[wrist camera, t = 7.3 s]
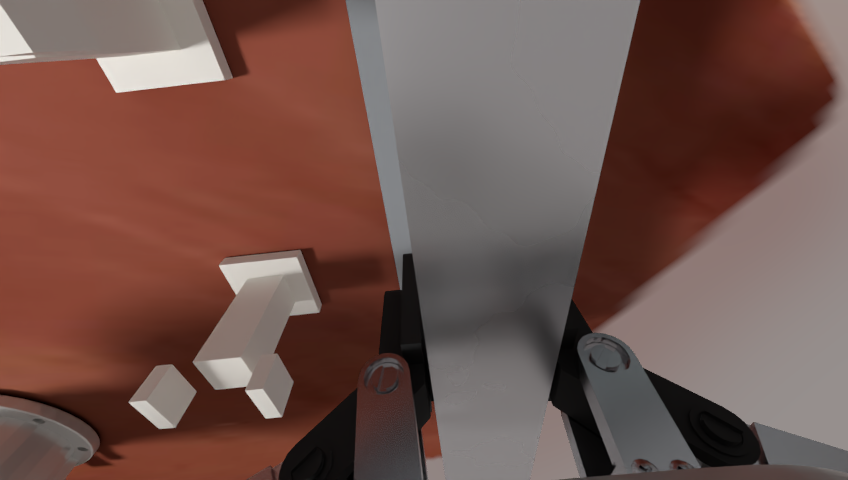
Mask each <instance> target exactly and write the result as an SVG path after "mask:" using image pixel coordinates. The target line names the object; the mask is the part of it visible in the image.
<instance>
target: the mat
mask: <svg viewBox="0 0 848 480" xmlns="http://www.w3.org/2000/svg"><path fill="white" fill-rule="evenodd" d="M346 5H347V10H348V15H349V21H350V26H351V31H352V36H353V42H354V47H355V52H356V58H357V63H358V68H359V74H360V79H361V84H362V89H363V95H364V100H365V105H366V111H367V116H368V121H369V126H370V132H371V137H372V142H373V148H374V153H375V158H376V164H377V169H378V174H379V179H380V185H381V190H382V195H383V201H384V206H385V211H386V216H387V222H388V227H389V232H390V238H391V243H392V248H393V254H394V259H395V264H396V269H397V275H398V280H399V285H400V290H402V267H403V254H409V253H412V248H411V242H410V235H409V228H408V221H407V215H406V208H405V201H404V194H403V187H402V181H401V174H400V167H399V160H398V154H397V147H396V140H395V133H394V126H393V120H392V113H391V106H390V99H389V93H388V86H387V79H386V72H385V65H384V59H383V52H382V45H381V38H380V32H379V25H378V18H377V11H376V4H375V0H346Z"/></svg>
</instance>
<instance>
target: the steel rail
mask: <svg viewBox="0 0 848 480" xmlns="http://www.w3.org/2000/svg"><path fill="white" fill-rule="evenodd" d="M375 4H376V11H377V18H378V25H379V32H380V38H381V45H382V52H383V59H384V65H385V72H386V79H387V86H388V93H389V99H390V106H391V113H392V120H393V126H394V133H395V140H396V147H397V154H398V160H399V167H400V174H401V181H402V187H403V194H404V201H405V208H406V215H407V221H408V228H409V235H410V242H411V248H412V255H413V262H414V269H415V275H416V282H417V289H418V296H419V303H420V309H421V316H422V323H423V330H424V336H425V343H426V350H427V357H428V364H429V370H430V377H431V384H432V391H433V397H434V404H435V411H436V418H437V425H438V431H439V438H440V445H441V452H442V458H443V465H444V472H445V479H446V480H530V476H531V472H532V468H533V463H534V459H535V454H536V450H537V446H538V442H539V437H540V433H541V428H542V424H543V420H544V415H545V411H546V407H547V403H548V398H549V394H550V390H551V385H552V381H553V376H554V372H555V368H556V363H557V359H558V355H559V350H560V346H561V342H562V337H563V333H564V329H565V324H566V320H567V316H568V311H569V307H570V303H571V298H572V294H573V290H574V285H575V281H576V277H577V272H578V268H579V264H580V259H581V255H582V251H583V246H584V242H585V238H586V233H587V229H588V225H589V220H590V216H591V212H592V207H593V203H594V199H595V194H596V190H597V186H598V181H599V177H600V173H601V168H602V164H603V160H604V155H605V151H606V147H607V142H608V138H609V134H610V129H611V125H612V121H613V116H614V112H615V108H616V103H617V99H618V95H619V90H620V86H621V82H622V77H623V73H624V69H625V64H626V60H627V56H628V51H629V47H630V43H631V38H632V34H633V30H634V25H635V21H636V17H637V12H638V8H639V4H640V0H375Z"/></svg>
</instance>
